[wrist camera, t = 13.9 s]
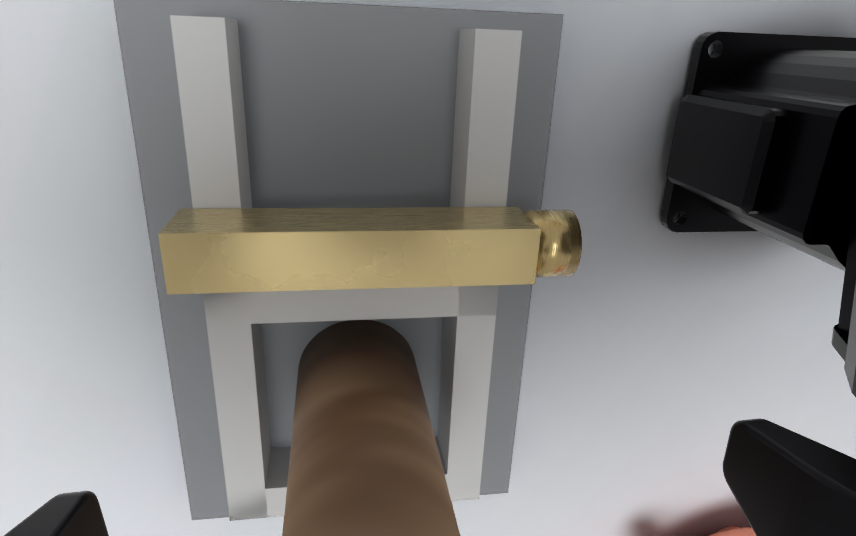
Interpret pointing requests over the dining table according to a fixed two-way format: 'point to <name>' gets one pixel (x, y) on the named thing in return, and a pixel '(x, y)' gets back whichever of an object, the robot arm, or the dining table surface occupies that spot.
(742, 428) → the robot arm
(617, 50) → the dining table surface
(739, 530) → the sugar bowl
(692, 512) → the dining table surface
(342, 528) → the peg
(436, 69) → the dock
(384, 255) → the pin
